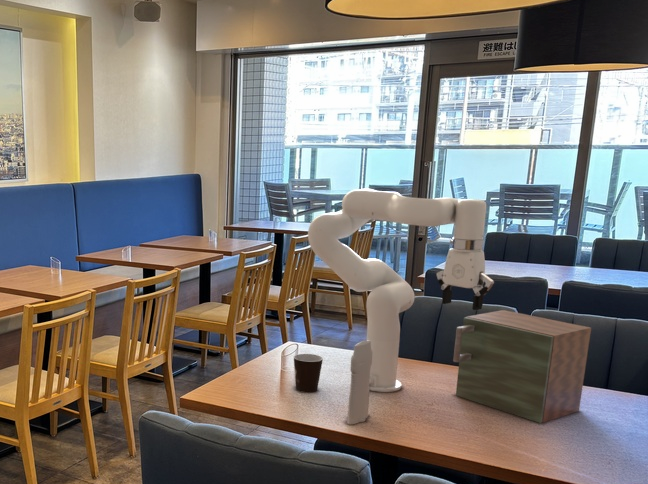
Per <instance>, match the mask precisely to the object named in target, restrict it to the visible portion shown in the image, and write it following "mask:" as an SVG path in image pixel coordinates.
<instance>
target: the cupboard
mask: <svg viewBox="0 0 648 484" xmlns="http://www.w3.org/2000/svg"><path fill="white" fill-rule="evenodd" d="M466 317H467V318H472V319H477V320H481V321H486V322H490V323H495V324H499V325H504V326H508V327H513V328H517V329H522V330H527V331H531V332H536V333H540V334H545V335H549V336H554V339H553V346H552V353H551V361H550V368H549V376H548V383H547V390H546V398H545V405H544V413H543V420H542V423H546V422H549V421H552V420H555V419H559V418H562V417H564V416H568V415H572V414H574V413H577V412H580V409H581V401H582V400H581V399H582V394H583V387H584V379H585V374H586V366H587V360H588V352H589V345H590V340H591V334H592V333H591V331H592V327H589V326H584V325H580V324H575V323H569V322H565V321H560V320H555V319H554V320H553V319H550V318H545V317H540V316H536V315H535V316H534V315H530V314H526V313H521V312H515V311H510V310H505V309H501V310H496V311H489V312H484V313H479V314H473V315H467V316H466Z"/></svg>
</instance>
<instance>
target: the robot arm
mask: <svg viewBox="0 0 648 484" xmlns="http://www.w3.org/2000/svg"><path fill="white" fill-rule="evenodd" d="M341 208H342V209H340V210H339V211H336V212H327V213H322V214H320V215H318V216H316V217H315V218H313V219H312V221H311V222H310V224H309V227H308V231H307V238H308V244H309V246H310V248H311V250H312V251H313V253H314V254H315V255H316V256H317V258H318V259H320V260H321V261H322V262H323V263H324V264H325V265H326V266H327V267H329V269H331V270H332V271H333V272H334V274H336V275H337V276H338V277H339V278H340V279H341V280H342V281H343V282H344V283H345V284H346V285H347V286H348V287H349V288H350V289H351V290H353V291H355V292H357V293H363V292H368V291H370V292H369V294H368V296H367V299H366V303H365V304H366V305H365V307H366V318H367V320H366V321H367V327H366V341H367V340H370V342H371V350H372V351H373V353H372V365H371V369H370V379H369V391H372V392H378V393H391V392H398V391H400V390H401V389H402V383H401V382H400V381H399V380H397V376H398V364H399V351H400V341H401V340H400V339H401V323H400V316H399V315H400V313H403V312H405V311H407V310H409V309H410V308H411V307H412V306H413V304H414V303H415V297H416V296H415V292H414V290H413V287H412V285H410V284H409V282H407V281H406V280H405V279H404V278H402V276H401V275H400V274H398V273H397V272H396V271H395V270H394V269H393V268H392V267H390V266H389V265H388V264H387V263H386V262H384V261H382V260H380V259H378V258H367V259H366V258H365V259H364V258H361V256H360V255H358V254H357V253H356V252H355V251H354V250H353V249H352V248H350V247H349V246H348V245H346V244H345V243H343V242H341V241H340V239H341V240H342V239H346V238H348V237H350V236H352V235H353V234H355V233H356V231H358V230H359V229H360V228H362V227H363V226H365V224H367V223H368V222H369V221H370V220H373V221H381V222H390V223H393V224H394V223H395V224H403V225H408V226H409V225H410V226H419V227H427V228H429V227H431V228H434V227H441V226H445V225H453V224H454V228H453V237H452V239H450V240H449V244H450V245H452V247H451V248H449V250H448V252H447V256H446V259H445V263H444V264H445V265H444V269H442V270H440V271H437V272H436V278H437V280H438V281H437V282H438V284H439V286H440V290H442V296H441V303H442V305H447V304H451V303H452V298H453V289H452V287H459V288H465V289H472V291H473V292H474V294H475V295H473V300H472V306H471V307H472V310H473V311H479V310H482V308H483V304H484V296H485V295H486V294H487V293H489V291H491V289H492V287H493V285H494V284H495V281H494V279H492V278H491V277H489V275H487V274H485V273H486V260H485V251H484V250H483V244H484V234H485V224H486V215H487V202H486V201H485V200H483V199H477V198H472V199H471V198H469V199H468V198H467V199H466V198H463V199H461V198H454V197H446V196H445V197H436V198H424V197H423V198H421V197H412V196H411V197H409V196H404V195H402V194H400V193H399V192H397V191H382V190H376V189H373V188H361V189H360V188H359V189H352V190H350V191H349V192H347V193H346V194H345V195H344V196H343V198H342V200H341ZM484 283H485V284H484Z"/></svg>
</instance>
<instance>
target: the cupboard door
mask: <svg viewBox="0 0 648 484" xmlns="http://www.w3.org/2000/svg"><path fill="white" fill-rule="evenodd" d="M553 339H554V336H549V335H545V334H540V333H536V332H531V331H527V330H522V329H517V328H513V327H508V326H504V325H499V324H495V323H490V322H486V321H481V320H477V319H472V318H467V316H465V317H463V323H462V325H461V326H456V331H455V341H454V348H453V349H454V352H453V360H452V361H453V362H454V363H458V369H457V371H458V372H457V378H456V379H457V380H456V389H455V396H457V397H460V398H462V399H466V400H468V401H472V402H475V403H477V404H481V405H484V406H487V407H490V408H493V409H496V410H499V411H501V412H506V413H508V414H510V415H513V416H517V417H521V418H523V419H526V420H530V421H533V422H535V423H538V424H541V423H543V422H542V420H543V413H544V405H545V398H546V390H547V383H548V376H549V368H550V361H551V353H552V346H553Z"/></svg>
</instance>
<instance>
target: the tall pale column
mask: <svg viewBox="0 0 648 484" xmlns="http://www.w3.org/2000/svg"><path fill="white" fill-rule="evenodd" d="M372 353H373V351H372V350H371V342H370V340H367V339H366V340H361V341H360V342H357V343H355V345H354V348H353V353H352V355H351V358H350V370H349V371H350V389H349V396H348V405H347V420H346V421H347V422H346V423H347V425H356V424H358V423H363V422H365V421H366V419H367V418H368V416H369V406H370V405H369V404H370V390H369V379H370V369H371V365H372Z"/></svg>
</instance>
